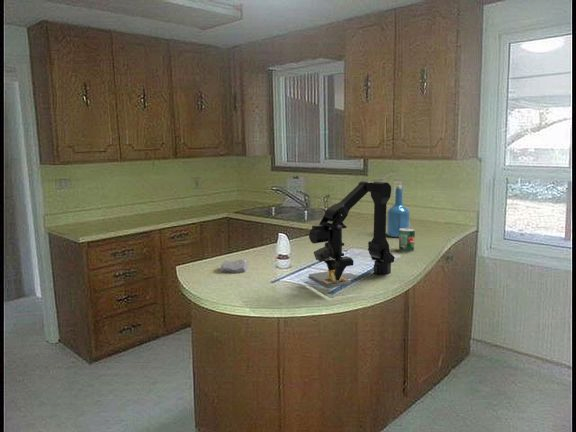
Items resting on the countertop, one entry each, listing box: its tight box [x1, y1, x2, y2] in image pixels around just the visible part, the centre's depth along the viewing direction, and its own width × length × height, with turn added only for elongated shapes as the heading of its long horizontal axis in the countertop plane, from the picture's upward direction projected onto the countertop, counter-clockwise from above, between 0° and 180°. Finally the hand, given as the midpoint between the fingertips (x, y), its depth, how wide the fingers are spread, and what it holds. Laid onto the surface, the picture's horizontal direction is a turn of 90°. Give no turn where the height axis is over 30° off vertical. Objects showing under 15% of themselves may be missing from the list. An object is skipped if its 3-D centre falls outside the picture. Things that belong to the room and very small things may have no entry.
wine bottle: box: [386, 185, 411, 239], centre depth 278 cm, size 14×13×30 cm
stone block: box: [220, 259, 248, 274], centre depth 212 cm, size 12×5×10 cm
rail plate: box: [308, 270, 352, 289], centre depth 191 cm, size 10×17×2 cm, turn 24°
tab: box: [342, 272, 359, 280], centre depth 196 cm, size 6×7×1 cm
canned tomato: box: [398, 227, 416, 253], centre depth 243 cm, size 8×8×11 cm
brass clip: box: [327, 269, 342, 283], centre depth 186 cm, size 4×4×4 cm
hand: (334, 278), depth 187 cm, fingers open, 4 cm apart
